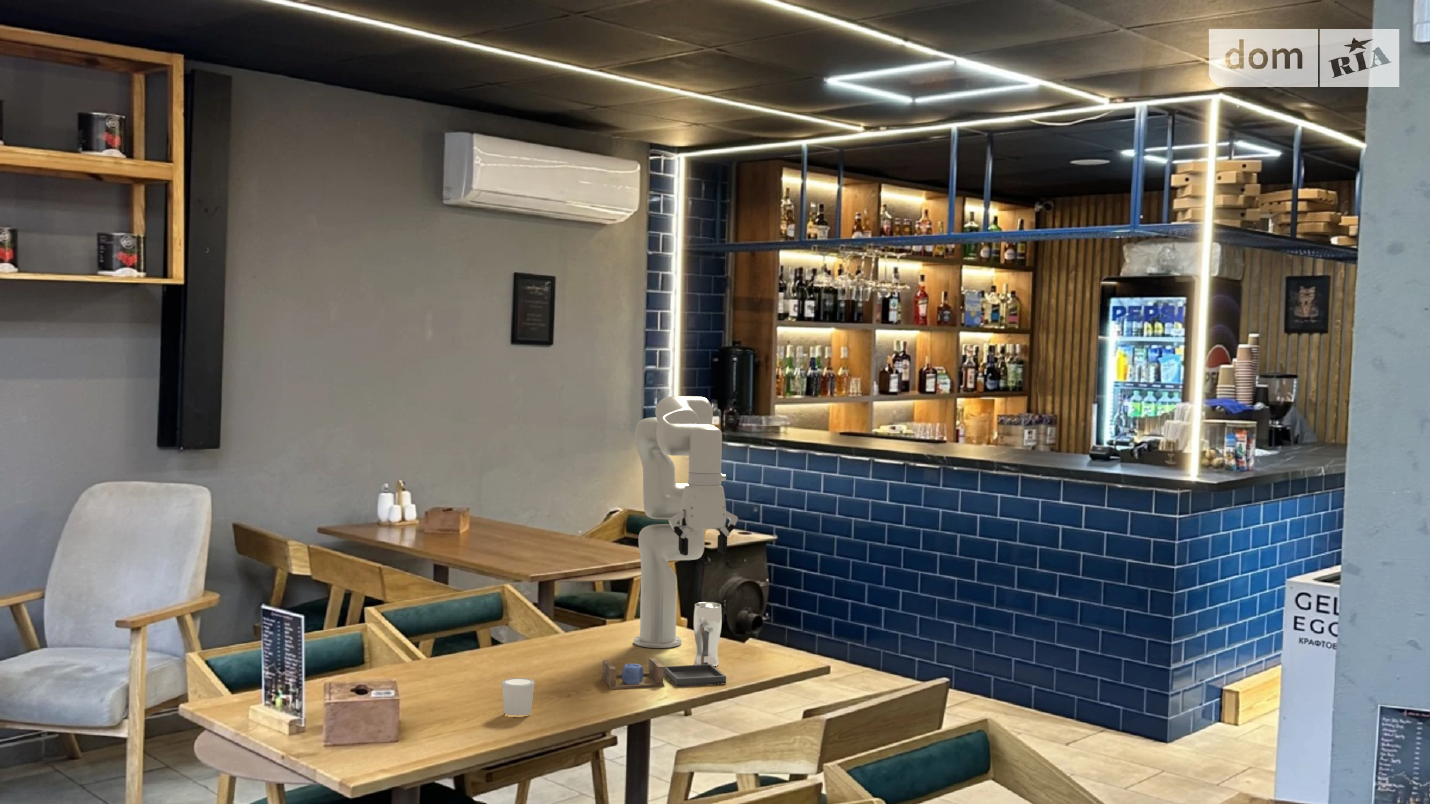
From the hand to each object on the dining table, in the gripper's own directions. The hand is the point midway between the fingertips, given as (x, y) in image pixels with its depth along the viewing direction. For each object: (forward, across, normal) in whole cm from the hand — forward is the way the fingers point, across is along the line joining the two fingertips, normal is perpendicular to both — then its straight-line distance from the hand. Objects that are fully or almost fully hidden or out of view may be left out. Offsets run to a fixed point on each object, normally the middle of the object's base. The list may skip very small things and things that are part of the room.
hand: (702, 553), depth 301 cm
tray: (+31, -1, -5) cm, 31 cm away
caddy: (+31, +14, -7) cm, 34 cm away
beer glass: (+31, -10, -17) cm, 36 cm away
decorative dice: (+31, +14, -7) cm, 35 cm away
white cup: (+31, +47, +9) cm, 57 cm away
